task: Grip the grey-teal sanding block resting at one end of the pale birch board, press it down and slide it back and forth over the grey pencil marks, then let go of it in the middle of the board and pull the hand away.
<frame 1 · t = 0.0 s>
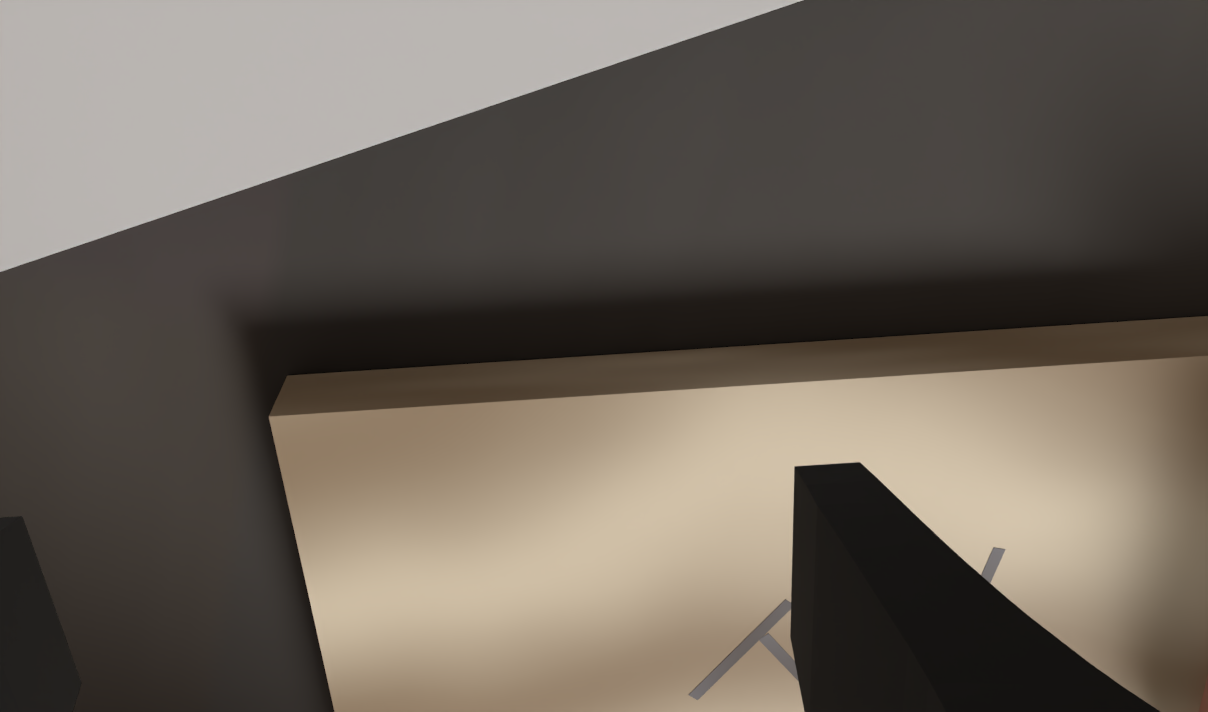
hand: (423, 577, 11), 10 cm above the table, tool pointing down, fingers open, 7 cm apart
birch board: (908, 626, 24), on the table
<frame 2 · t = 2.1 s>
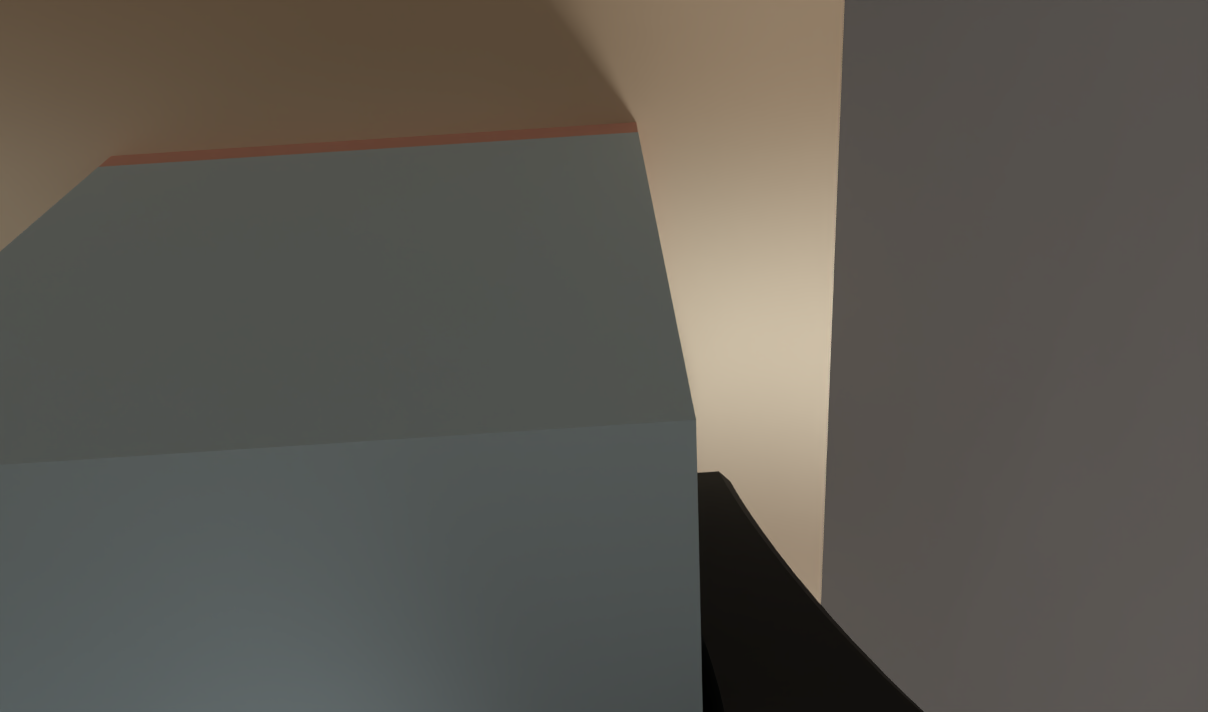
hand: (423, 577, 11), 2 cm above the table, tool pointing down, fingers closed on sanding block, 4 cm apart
sanding block: (432, 521, 12), point 1 cm above the table, touching birch board, gripper
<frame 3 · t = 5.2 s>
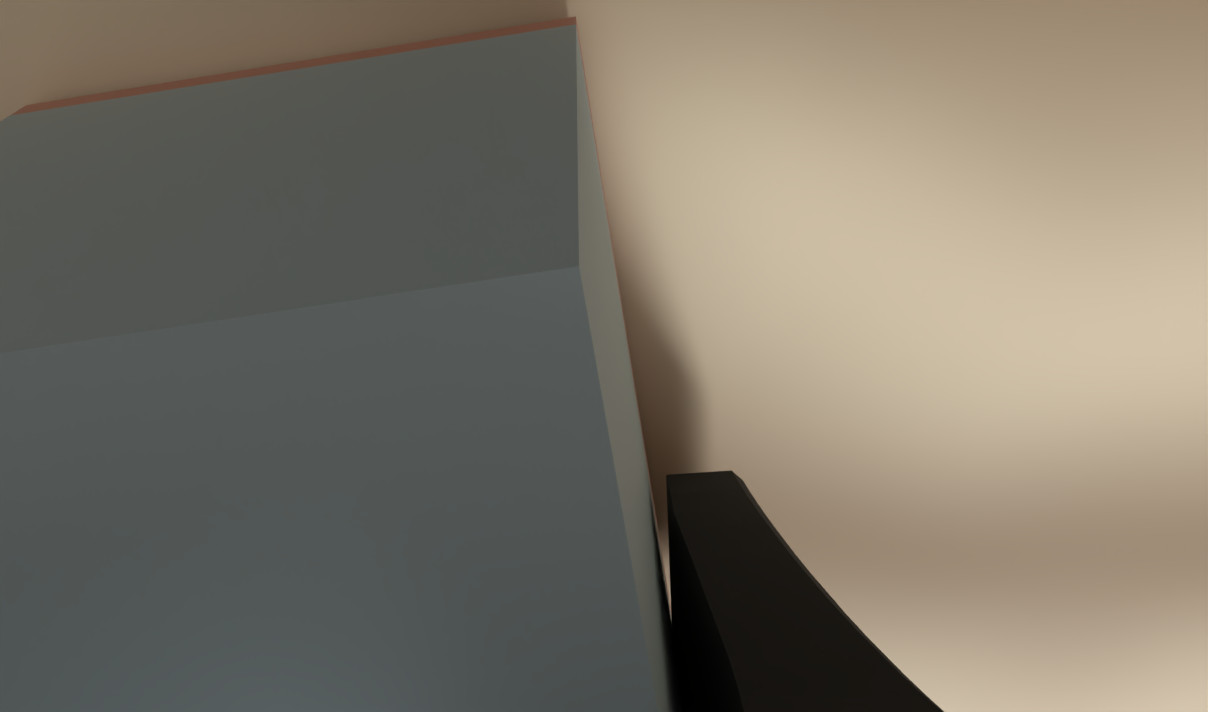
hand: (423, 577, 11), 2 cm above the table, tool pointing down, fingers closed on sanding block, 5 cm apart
sanding block: (412, 475, 11), point 2 cm above the table, touching gripper
birch board: (359, 457, 13), on the table
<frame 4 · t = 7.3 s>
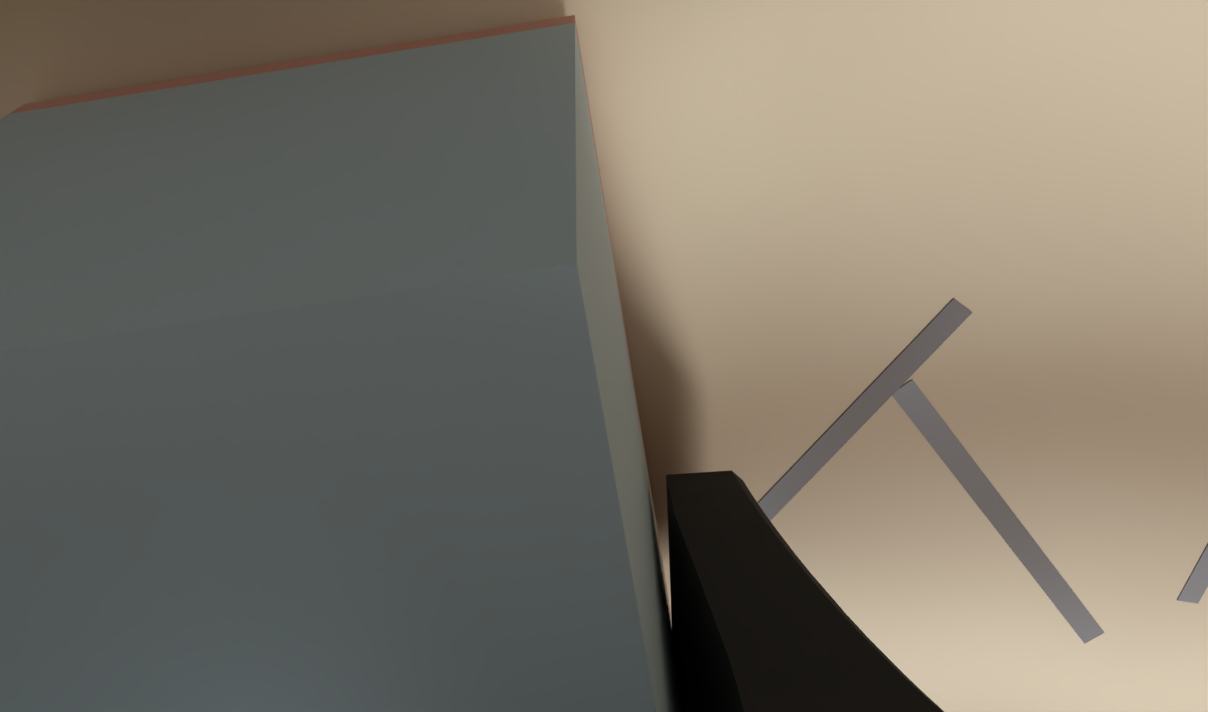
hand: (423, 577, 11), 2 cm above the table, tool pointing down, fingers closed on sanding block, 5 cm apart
sanding block: (411, 474, 11), point 2 cm above the table, touching gripper
birch board: (1157, 406, 13), on the table
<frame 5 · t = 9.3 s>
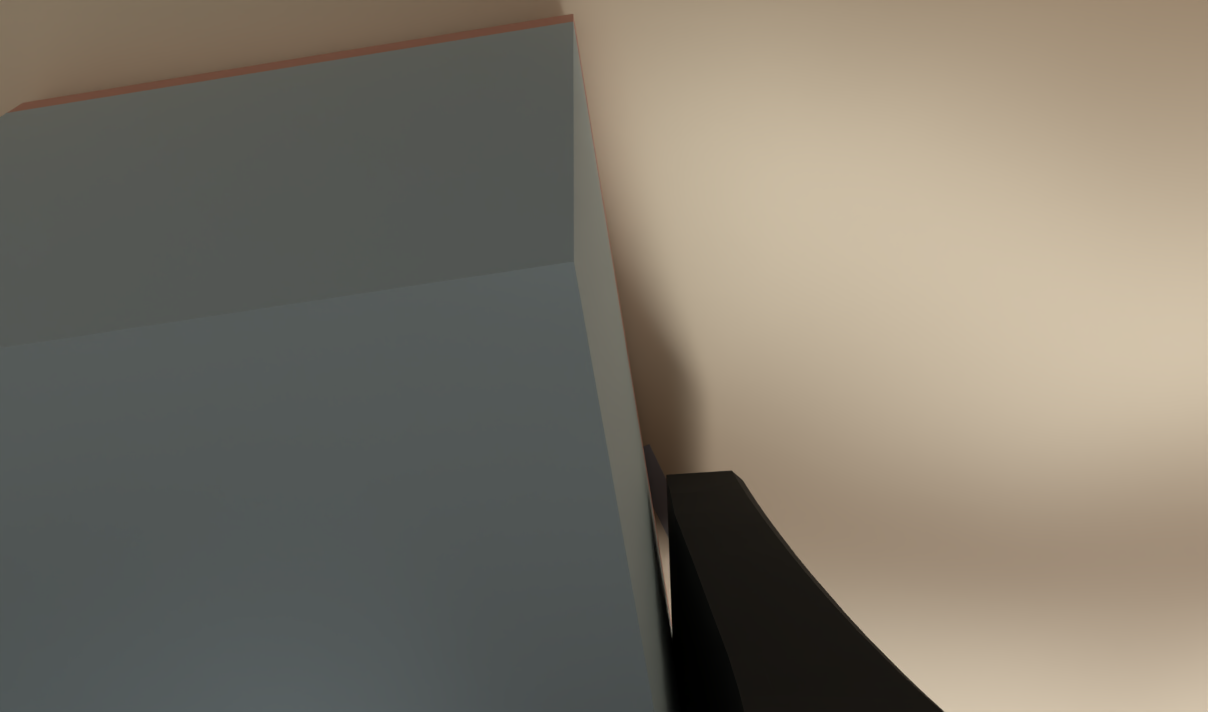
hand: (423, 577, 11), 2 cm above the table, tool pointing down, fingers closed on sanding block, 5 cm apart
sanding block: (409, 473, 11), point 2 cm above the table, touching gripper
birch board: (432, 455, 13), on the table
when the fingers open (2 cm above the table, at t = 13.7 s): sanding block stays where it is, resting on birch board.
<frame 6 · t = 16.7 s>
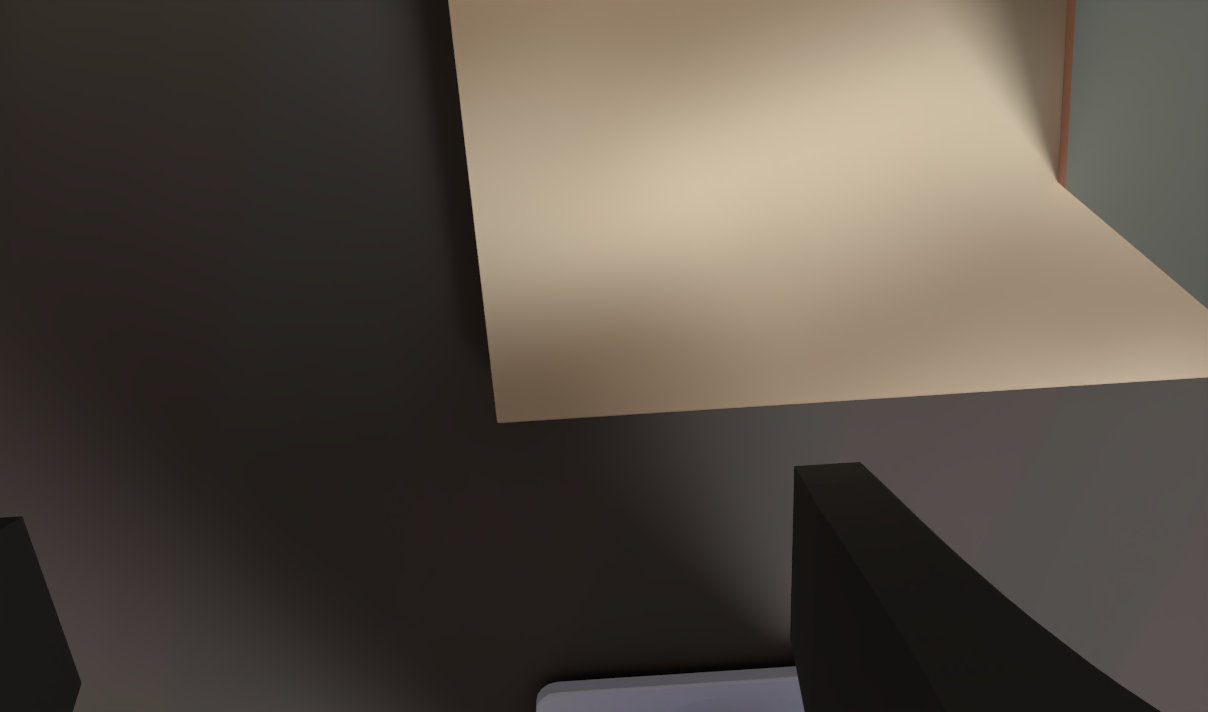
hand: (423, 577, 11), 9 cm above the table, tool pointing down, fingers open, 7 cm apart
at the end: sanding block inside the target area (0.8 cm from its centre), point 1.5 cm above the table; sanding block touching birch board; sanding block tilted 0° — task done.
